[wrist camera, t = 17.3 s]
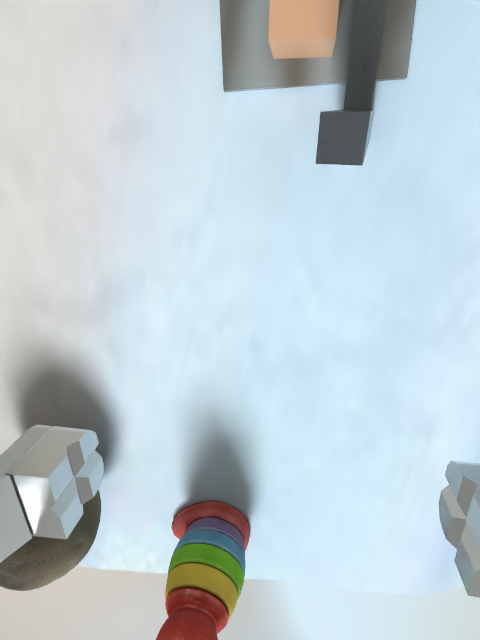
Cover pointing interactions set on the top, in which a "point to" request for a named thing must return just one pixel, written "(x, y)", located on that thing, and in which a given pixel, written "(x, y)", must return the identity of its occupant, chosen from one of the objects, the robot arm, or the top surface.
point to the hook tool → (355, 92)
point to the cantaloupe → (51, 553)
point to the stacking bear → (205, 571)
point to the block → (302, 28)
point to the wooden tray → (268, 73)
